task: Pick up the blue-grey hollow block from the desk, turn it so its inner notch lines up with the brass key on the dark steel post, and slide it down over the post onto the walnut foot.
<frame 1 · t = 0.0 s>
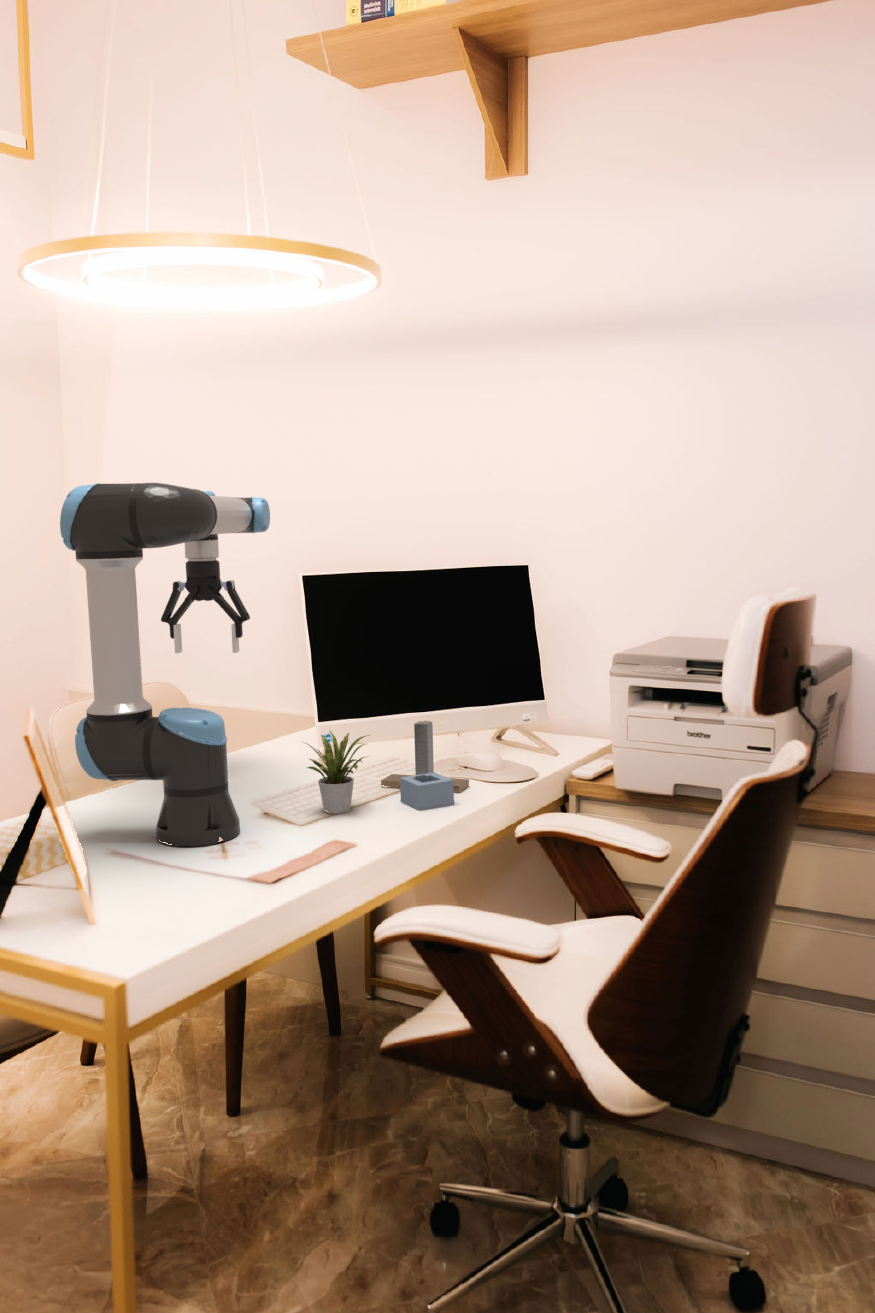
hand: (207, 652, 240), 28 cm above the table, tool pointing down, fingers open, 13 cm apart
house plant: (343, 811, 208), on the table
keyed post: (425, 786, 225), on the table
blue-grey hollow block: (427, 803, 212), on the table
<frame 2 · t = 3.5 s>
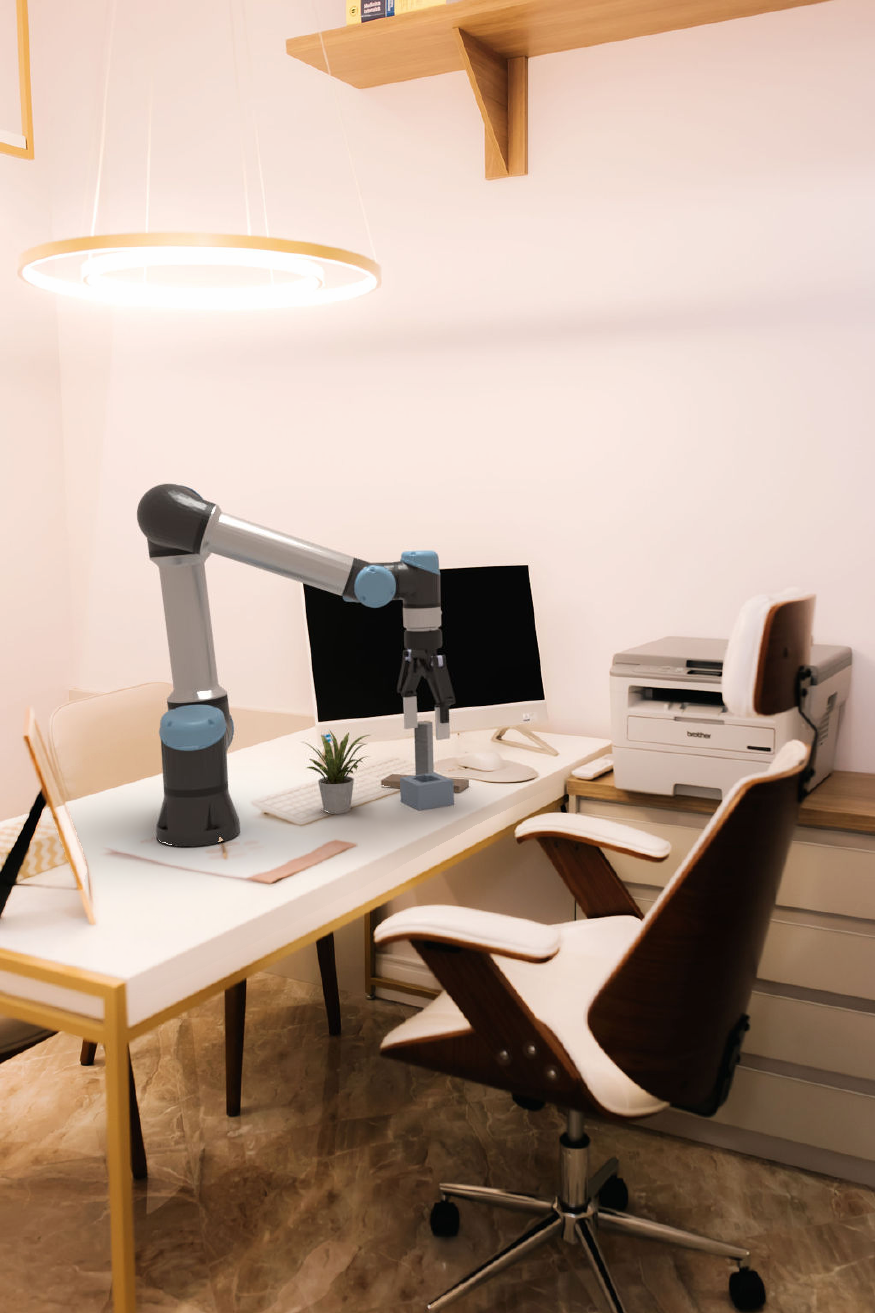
hand: (426, 733, 210), 14 cm above the table, tool pointing down, fingers open, 13 cm apart
nothing on the table moved.
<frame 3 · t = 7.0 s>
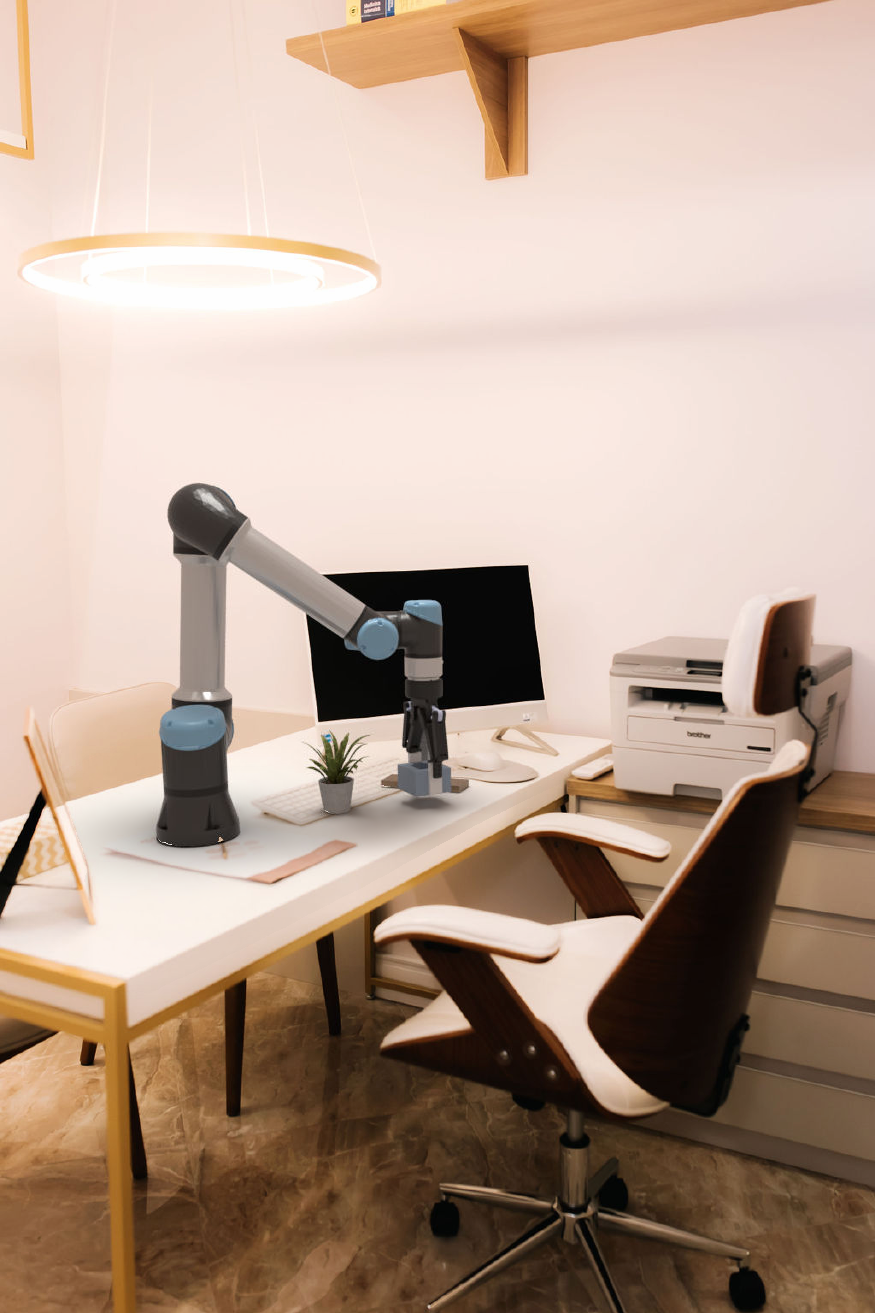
hand: (424, 788, 212), 3 cm above the table, tool pointing down, fingers closed on blue-grey hollow block, 8 cm apart
blue-grey hollow block: (424, 790, 212), point 3 cm above the table, touching gripper
everything else where it was.
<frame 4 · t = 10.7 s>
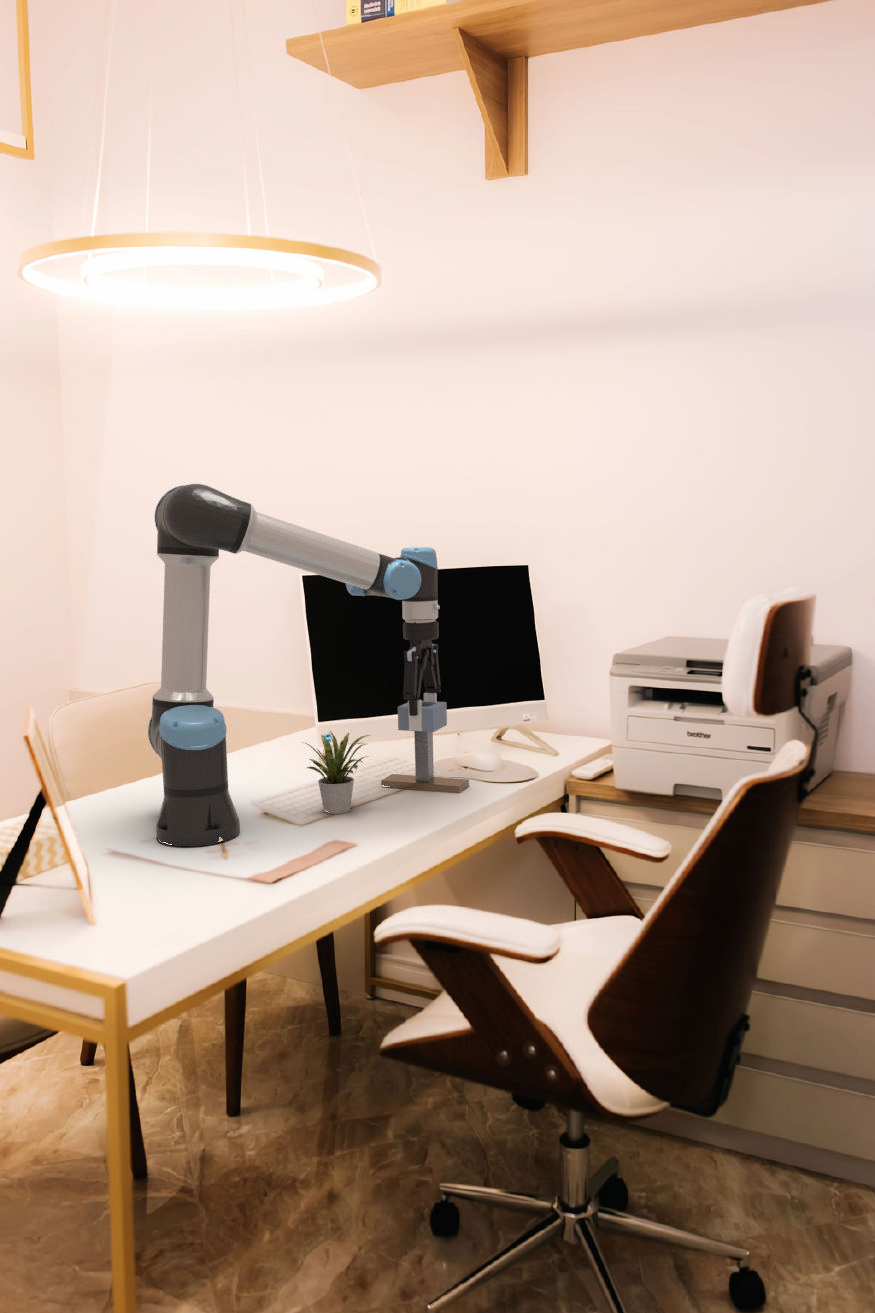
hand: (423, 726, 223), 13 cm above the table, tool pointing down, fingers closed on blue-grey hollow block, 8 cm apart
blue-grey hollow block: (422, 727, 223), point 13 cm above the table, touching gripper
everything else where it was.
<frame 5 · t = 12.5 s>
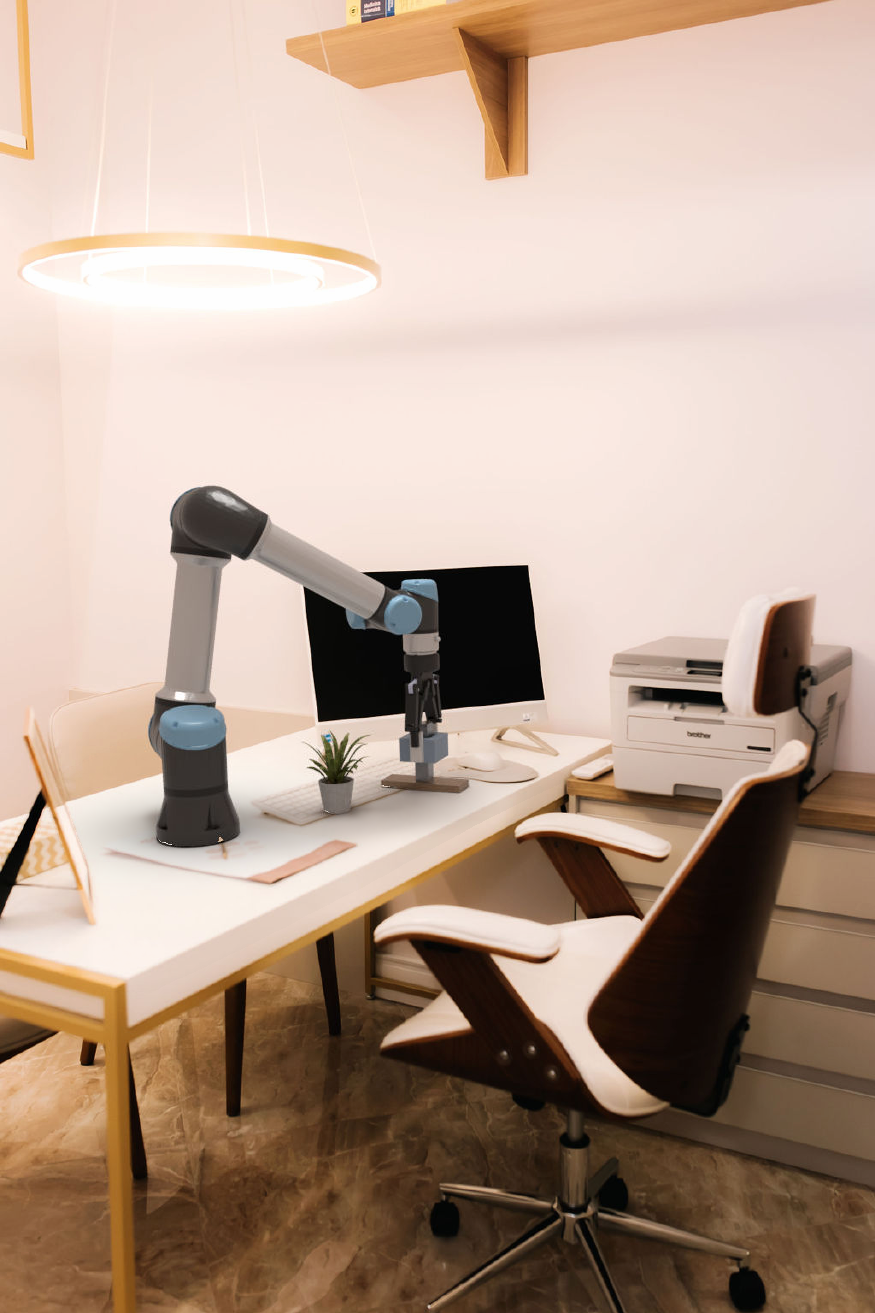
hand: (424, 757, 224), 6 cm above the table, tool pointing down, fingers closed on blue-grey hollow block, 8 cm apart
blue-grey hollow block: (424, 758, 224), point 6 cm above the table, touching gripper
everything else where it was.
when the fingers open (2 cm above the table, at t = 14.4 s): blue-grey hollow block stays where it is, resting on keyed post.
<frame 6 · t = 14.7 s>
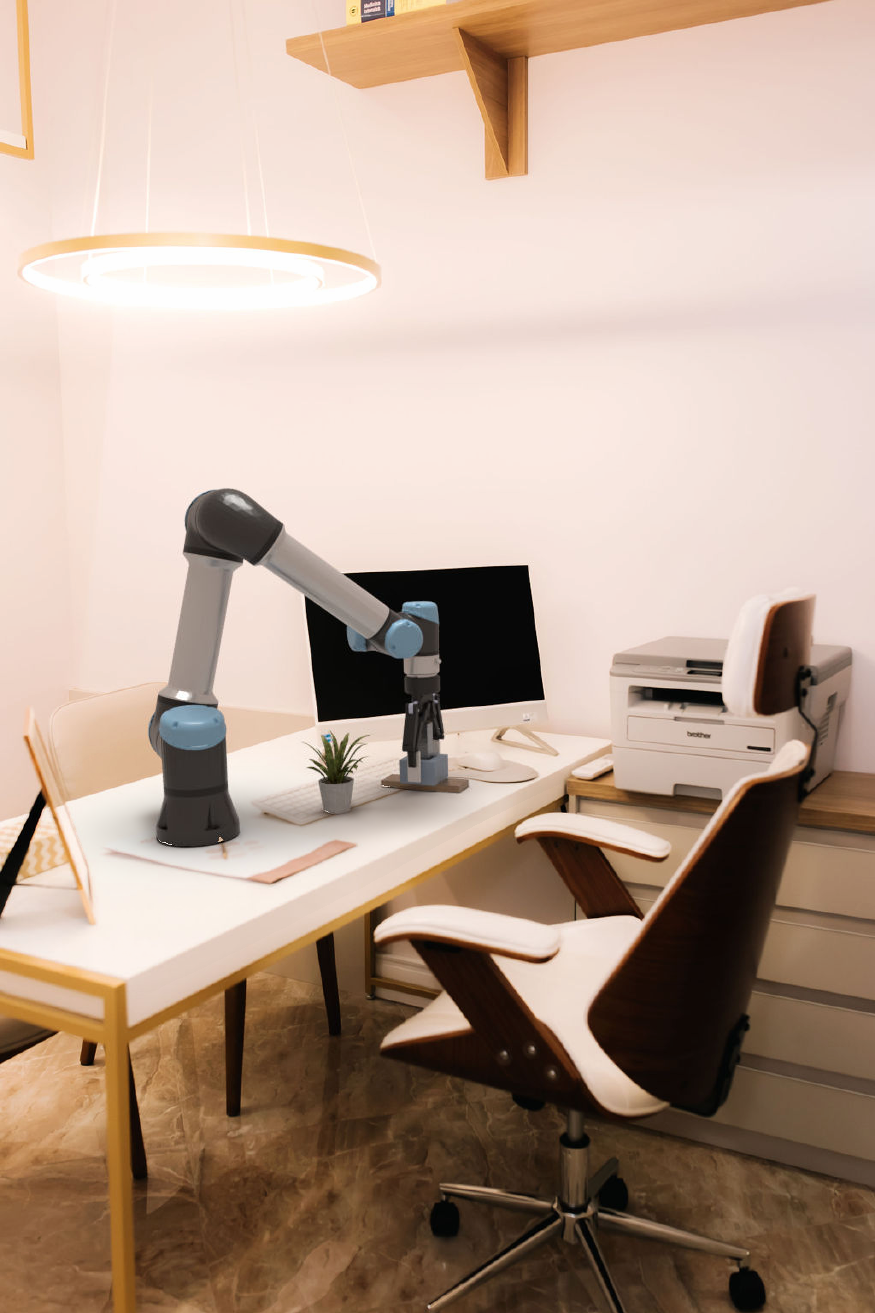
hand: (424, 775, 225), 2 cm above the table, tool pointing down, fingers open, 11 cm apart
blue-grey hollow block: (424, 779, 225), point 1 cm above the table, touching keyed post
everything else where it was.
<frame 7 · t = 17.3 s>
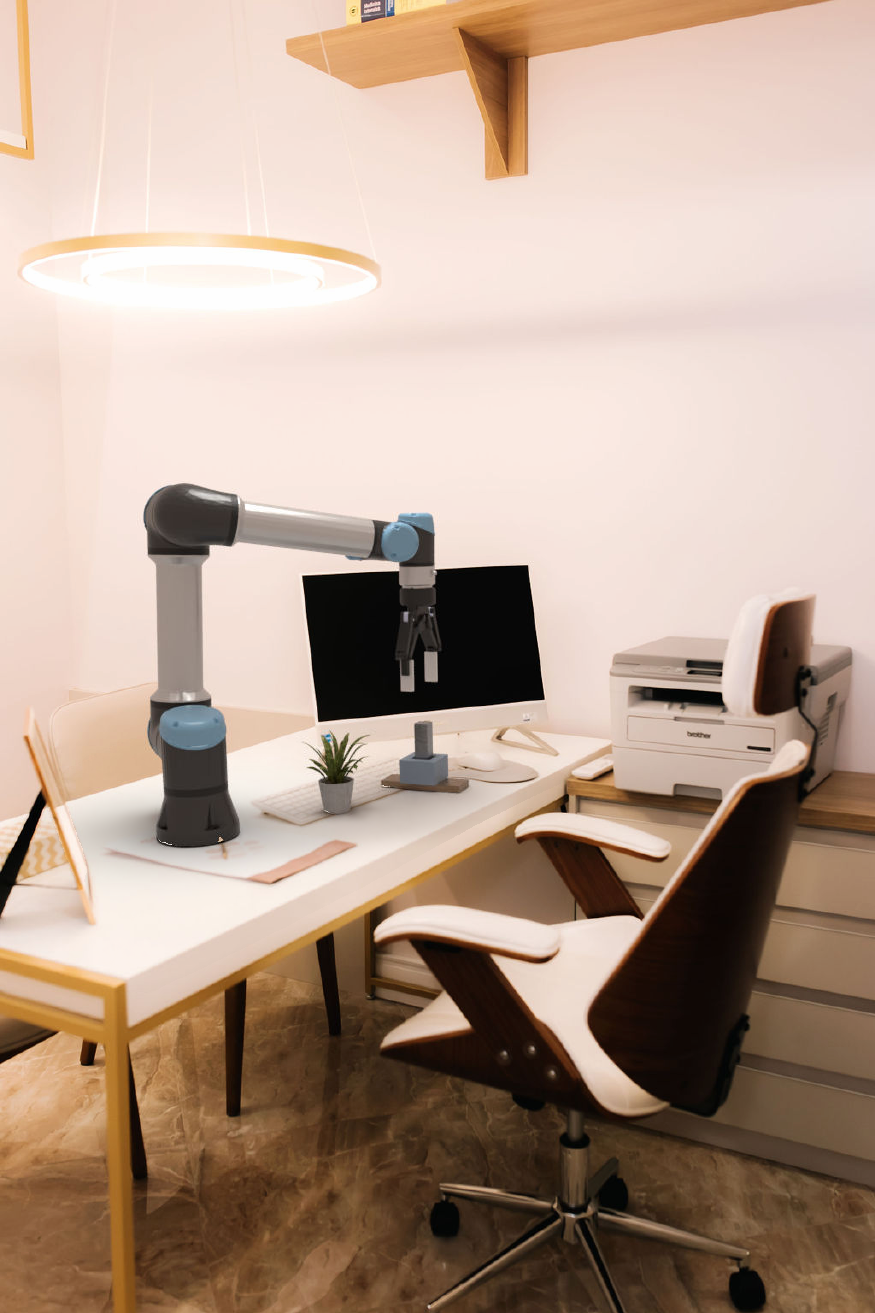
hand: (419, 686, 222), 22 cm above the table, tool pointing down, fingers open, 13 cm apart
nothing on the table moved.
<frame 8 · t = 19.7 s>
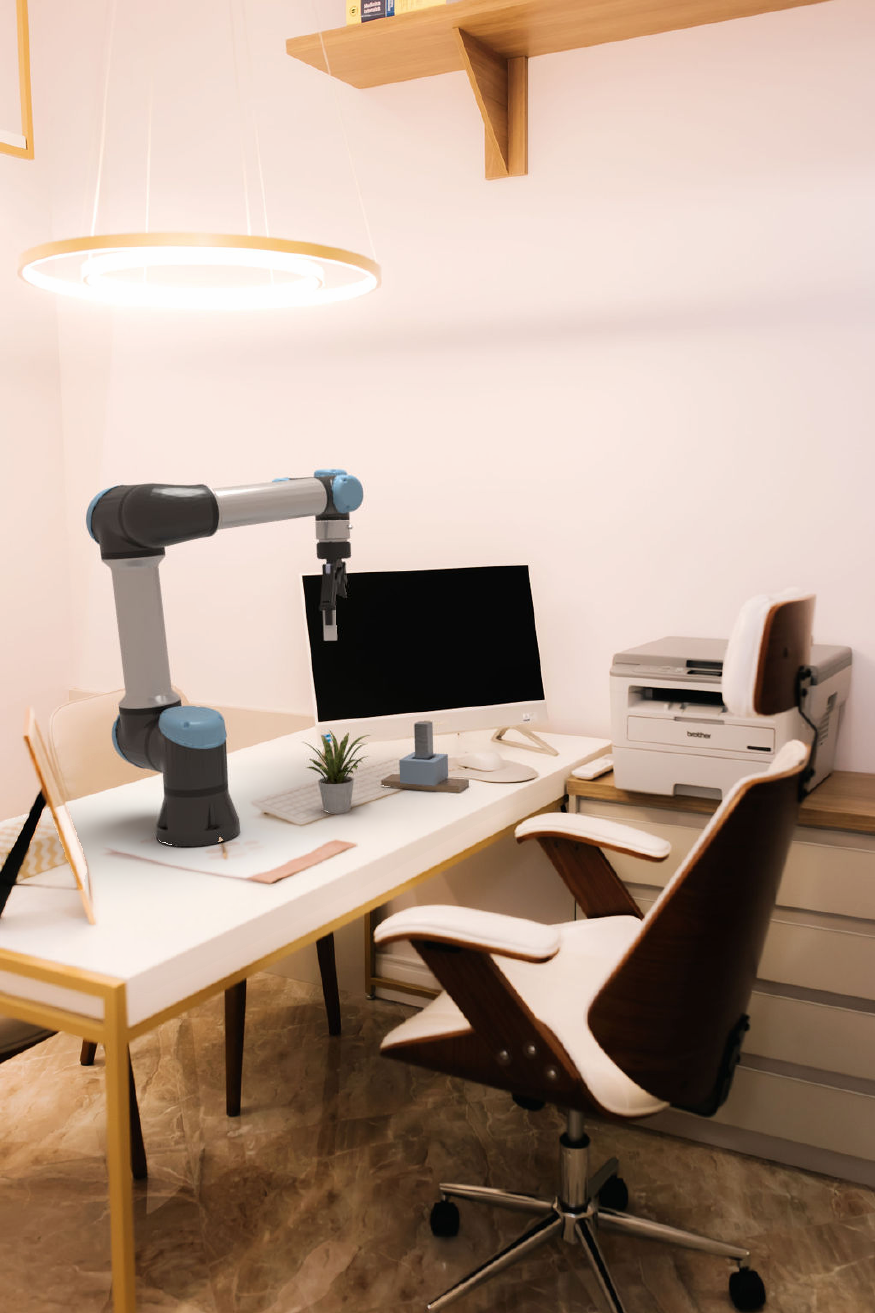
hand: (336, 637, 232), 32 cm above the table, tool pointing down, fingers open, 13 cm apart
nothing on the table moved.
at the end: blue-grey hollow block 0.1 cm from the keyed post (horizontally); blue-grey hollow block point 1.5 cm above the table; blue-grey hollow block tilted 0° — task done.
